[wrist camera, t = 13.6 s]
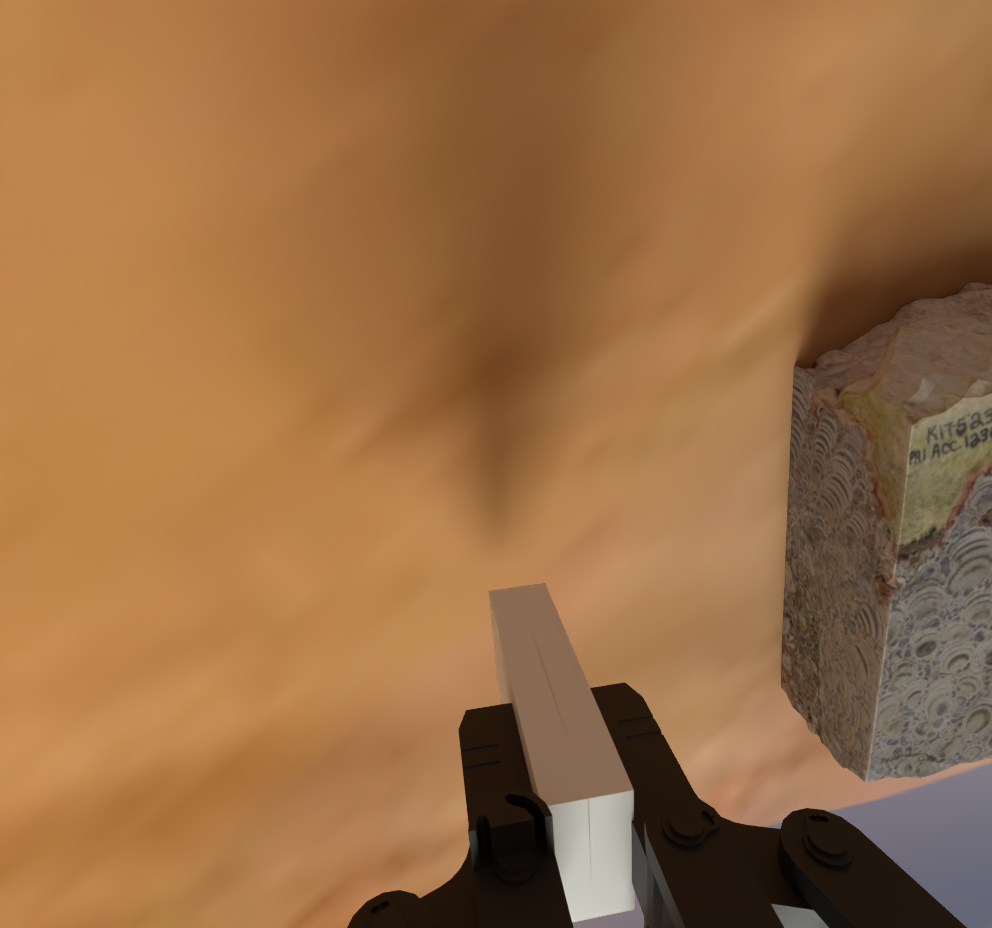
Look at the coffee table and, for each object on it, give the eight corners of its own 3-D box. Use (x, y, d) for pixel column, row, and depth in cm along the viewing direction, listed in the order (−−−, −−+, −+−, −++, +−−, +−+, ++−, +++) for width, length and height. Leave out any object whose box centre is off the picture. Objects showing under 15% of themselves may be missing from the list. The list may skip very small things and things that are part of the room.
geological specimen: (865, 821, 19) (931, 353, 13) (761, 683, 24) (774, 313, 19) (1175, 748, 19) (1371, 271, 14) (1004, 630, 25) (1091, 257, 19)
